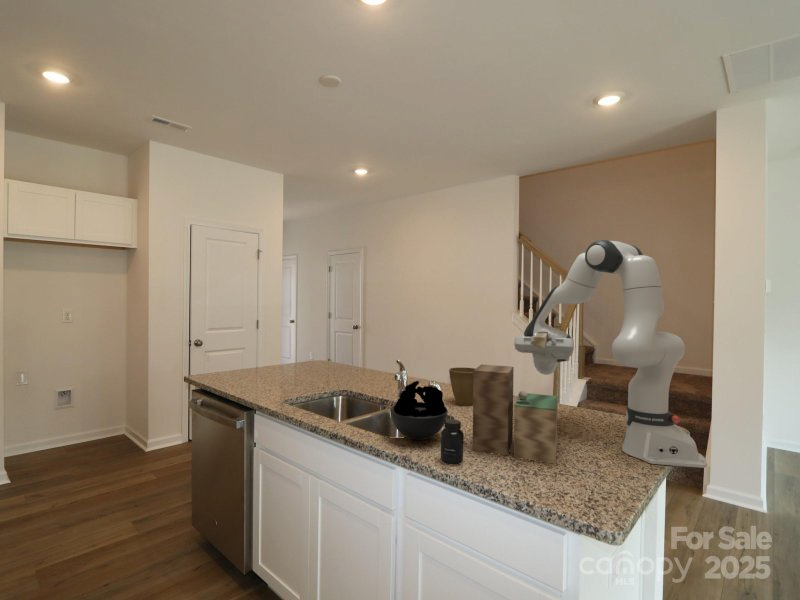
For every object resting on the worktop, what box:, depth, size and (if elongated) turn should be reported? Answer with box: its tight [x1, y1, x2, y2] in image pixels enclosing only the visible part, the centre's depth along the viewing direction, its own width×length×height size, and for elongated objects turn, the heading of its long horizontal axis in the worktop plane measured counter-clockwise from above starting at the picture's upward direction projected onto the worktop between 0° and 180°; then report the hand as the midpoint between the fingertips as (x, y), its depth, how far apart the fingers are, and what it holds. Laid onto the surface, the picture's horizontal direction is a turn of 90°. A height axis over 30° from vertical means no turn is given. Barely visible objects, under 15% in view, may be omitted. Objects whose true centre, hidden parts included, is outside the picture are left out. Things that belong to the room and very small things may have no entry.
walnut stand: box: [471, 364, 514, 456], centre depth 137 cm, size 11×13×26 cm
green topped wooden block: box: [513, 390, 558, 465], centre depth 134 cm, size 12×18×19 cm, turn 158°
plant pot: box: [448, 366, 476, 407], centre depth 193 cm, size 15×15×16 cm
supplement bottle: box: [440, 418, 465, 465], centre depth 125 cm, size 7×7×12 cm
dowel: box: [533, 332, 548, 348], centre depth 136 cm, size 3×22×3 cm, turn 158°
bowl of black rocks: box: [389, 380, 448, 441], centre depth 145 cm, size 20×20×19 cm
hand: (542, 335), depth 144 cm, fingers closed on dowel, 3 cm apart
